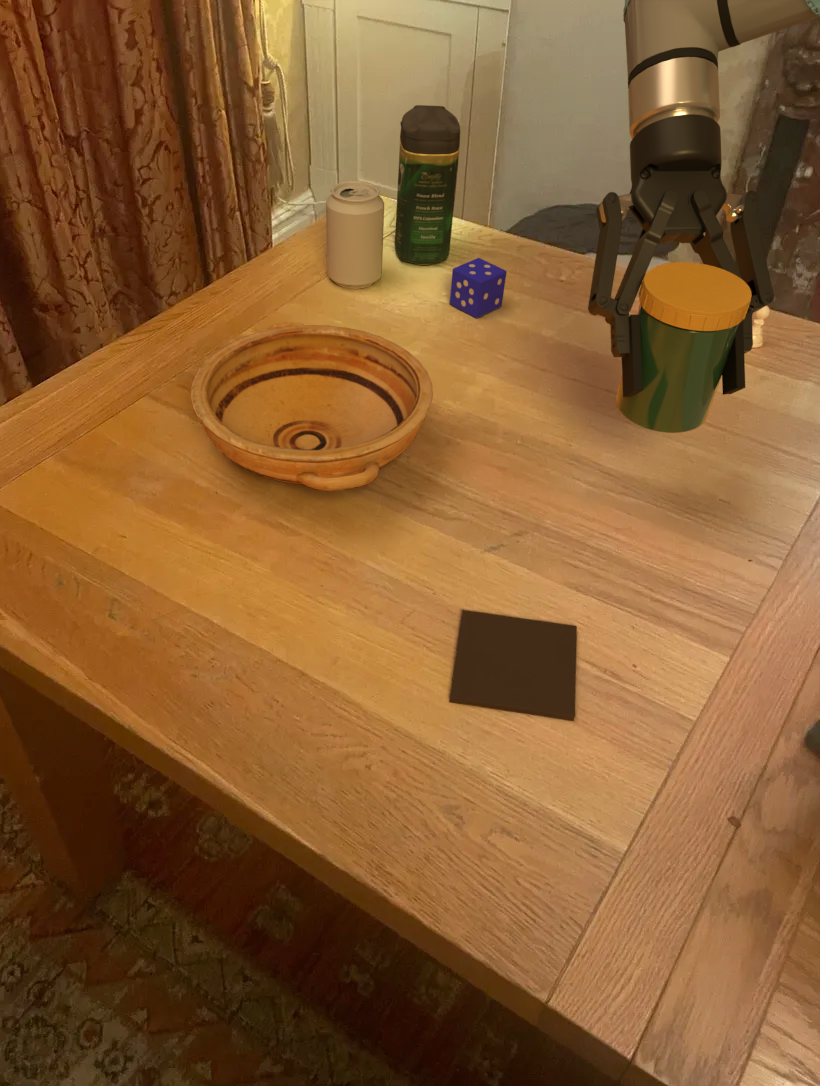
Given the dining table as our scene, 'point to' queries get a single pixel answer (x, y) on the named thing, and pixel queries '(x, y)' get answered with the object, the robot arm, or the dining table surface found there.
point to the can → (354, 234)
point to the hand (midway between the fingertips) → (683, 392)
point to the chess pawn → (759, 326)
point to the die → (477, 287)
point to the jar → (676, 375)
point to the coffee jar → (426, 184)
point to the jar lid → (694, 296)
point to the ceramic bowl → (312, 403)
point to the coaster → (515, 665)
